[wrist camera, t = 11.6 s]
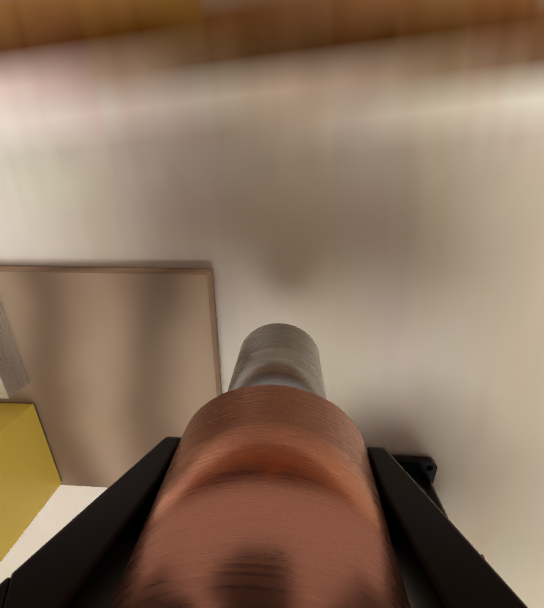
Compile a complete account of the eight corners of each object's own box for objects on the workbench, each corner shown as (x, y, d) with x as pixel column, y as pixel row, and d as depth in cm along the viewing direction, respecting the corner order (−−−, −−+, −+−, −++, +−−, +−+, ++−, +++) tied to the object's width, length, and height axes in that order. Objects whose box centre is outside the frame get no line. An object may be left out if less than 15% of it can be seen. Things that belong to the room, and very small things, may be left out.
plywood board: (212, 268, 17) (206, 275, 15) (228, 478, 23) (224, 495, 21) (-125, 264, 18) (-155, 269, 17) (-26, 465, 24) (-43, 480, 22)
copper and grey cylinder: (343, 306, 10) (470, 606, 3) (333, 408, 12) (402, 765, 5) (217, 303, 11) (52, 576, 3) (224, 404, 12) (124, 737, 5)
